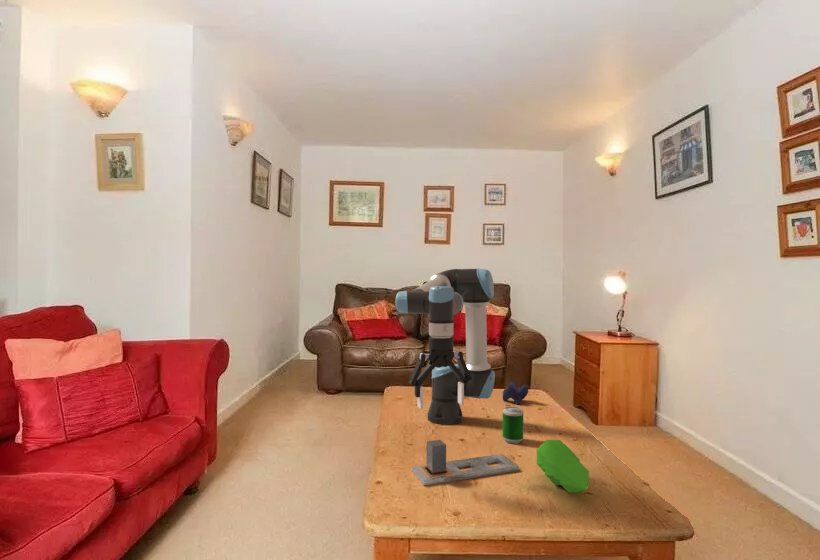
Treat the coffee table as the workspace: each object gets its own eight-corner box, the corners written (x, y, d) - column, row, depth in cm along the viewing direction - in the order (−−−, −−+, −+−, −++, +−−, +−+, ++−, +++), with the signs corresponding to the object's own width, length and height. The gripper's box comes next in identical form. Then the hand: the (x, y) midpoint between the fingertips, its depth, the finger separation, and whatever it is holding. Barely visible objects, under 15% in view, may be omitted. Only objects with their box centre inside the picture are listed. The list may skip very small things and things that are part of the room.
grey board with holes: (411, 471, 137) (411, 466, 137) (501, 458, 148) (501, 453, 148) (423, 485, 127) (423, 479, 127) (518, 470, 138) (518, 464, 138)
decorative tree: (554, 426, 143) (598, 460, 114) (568, 459, 143) (615, 501, 113) (522, 440, 143) (558, 477, 113) (536, 473, 143) (575, 519, 113)
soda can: (523, 445, 160) (523, 412, 160) (502, 443, 162) (502, 410, 162) (522, 438, 167) (522, 406, 167) (502, 436, 169) (502, 405, 169)
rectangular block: (426, 474, 135) (426, 441, 135) (439, 471, 137) (440, 439, 137) (432, 480, 131) (432, 446, 131) (445, 478, 133) (446, 444, 133)
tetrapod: (498, 397, 223) (501, 377, 221) (521, 396, 225) (523, 376, 222) (506, 409, 213) (508, 388, 210) (530, 408, 214) (532, 387, 211)
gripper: (406, 339, 128) (406, 413, 128) (483, 336, 136) (482, 405, 136) (398, 336, 135) (398, 406, 135) (471, 333, 143) (471, 398, 143)
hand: (440, 405), depth 136 cm, fingers open, 13 cm apart
